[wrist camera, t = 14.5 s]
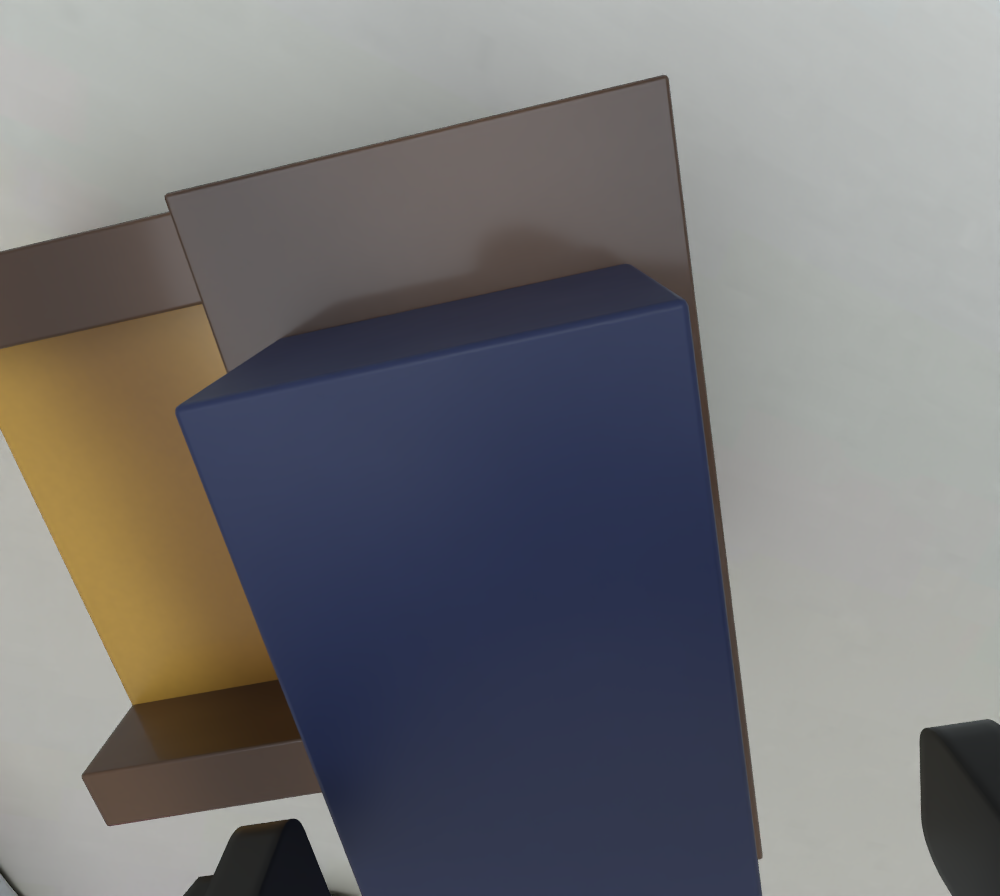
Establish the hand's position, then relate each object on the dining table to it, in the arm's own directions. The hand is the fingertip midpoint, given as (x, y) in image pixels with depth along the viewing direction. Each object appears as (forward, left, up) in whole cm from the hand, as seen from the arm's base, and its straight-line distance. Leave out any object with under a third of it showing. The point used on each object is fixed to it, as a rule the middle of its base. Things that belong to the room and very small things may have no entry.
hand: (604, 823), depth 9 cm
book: (+1, -1, -5) cm, 5 cm away
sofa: (+6, -1, -18) cm, 19 cm away
